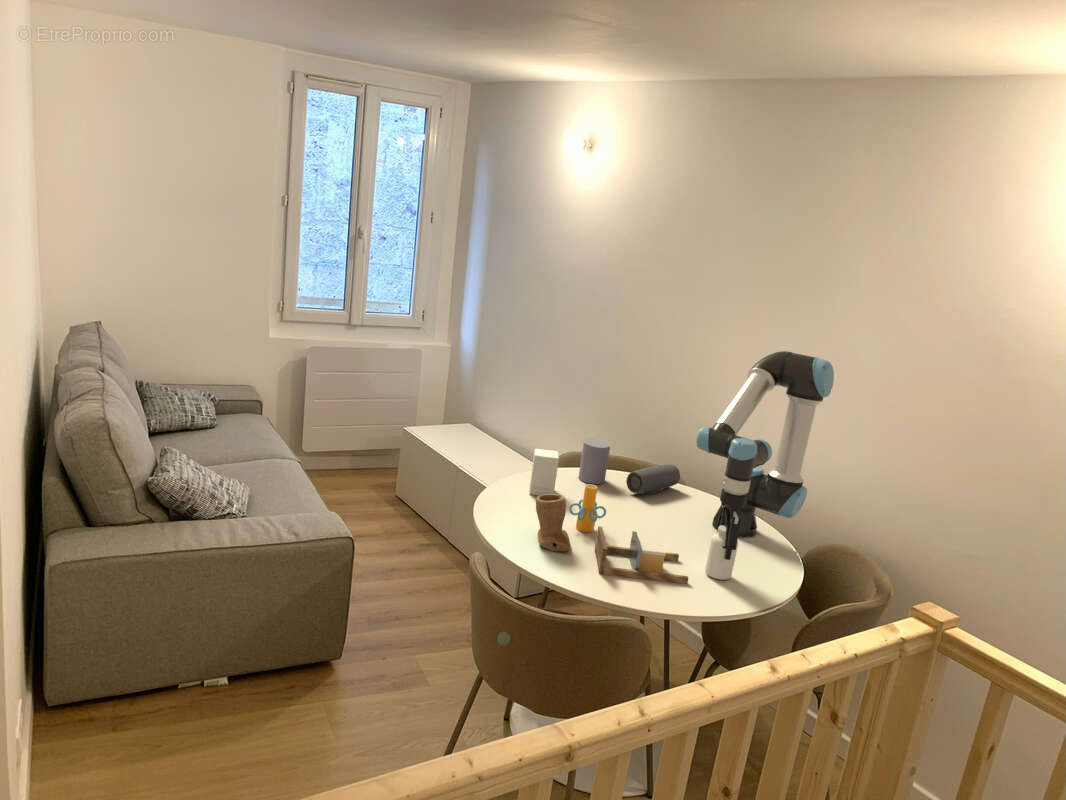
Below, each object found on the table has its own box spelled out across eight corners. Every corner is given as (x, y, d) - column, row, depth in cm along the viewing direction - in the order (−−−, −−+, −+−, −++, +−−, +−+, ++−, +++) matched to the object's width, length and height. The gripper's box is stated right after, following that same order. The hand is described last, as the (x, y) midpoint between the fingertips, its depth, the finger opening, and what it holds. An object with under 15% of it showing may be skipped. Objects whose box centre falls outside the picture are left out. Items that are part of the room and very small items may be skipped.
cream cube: (657, 564, 244) (661, 542, 242) (661, 574, 237) (665, 552, 235) (634, 561, 244) (638, 539, 242) (637, 572, 237) (641, 550, 235)
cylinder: (590, 539, 255) (596, 495, 252) (562, 529, 260) (568, 486, 257) (607, 528, 266) (614, 486, 262) (580, 519, 271) (586, 477, 267)
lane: (677, 559, 249) (681, 536, 247) (687, 584, 233) (692, 559, 231) (594, 550, 248) (598, 526, 246) (599, 574, 232) (603, 548, 230)
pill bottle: (731, 582, 237) (741, 536, 233) (704, 577, 238) (713, 530, 234) (730, 571, 244) (740, 526, 241) (704, 566, 246) (713, 521, 242)
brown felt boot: (530, 530, 256) (536, 486, 252) (567, 534, 257) (573, 491, 253) (531, 550, 241) (537, 504, 238) (570, 555, 242) (577, 509, 238)
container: (576, 481, 307) (582, 444, 304) (579, 473, 317) (585, 437, 314) (603, 486, 306) (609, 449, 303) (605, 478, 316) (611, 442, 312)
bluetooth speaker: (660, 483, 319) (664, 459, 316) (678, 491, 312) (683, 467, 310) (623, 491, 303) (627, 467, 301) (641, 500, 297) (646, 475, 294)
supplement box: (553, 497, 287) (559, 458, 284) (528, 494, 287) (534, 455, 284) (553, 489, 296) (558, 450, 293) (529, 486, 296) (534, 447, 292)
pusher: (632, 555, 247) (636, 531, 245) (638, 575, 234) (642, 550, 232) (628, 555, 247) (632, 531, 245) (634, 574, 234) (638, 549, 232)
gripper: (714, 477, 244) (701, 545, 250) (731, 502, 224) (716, 575, 230) (738, 480, 245) (724, 548, 250) (757, 505, 225) (741, 578, 230)
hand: (720, 561), depth 240 cm, fingers closed on pill bottle, 8 cm apart
